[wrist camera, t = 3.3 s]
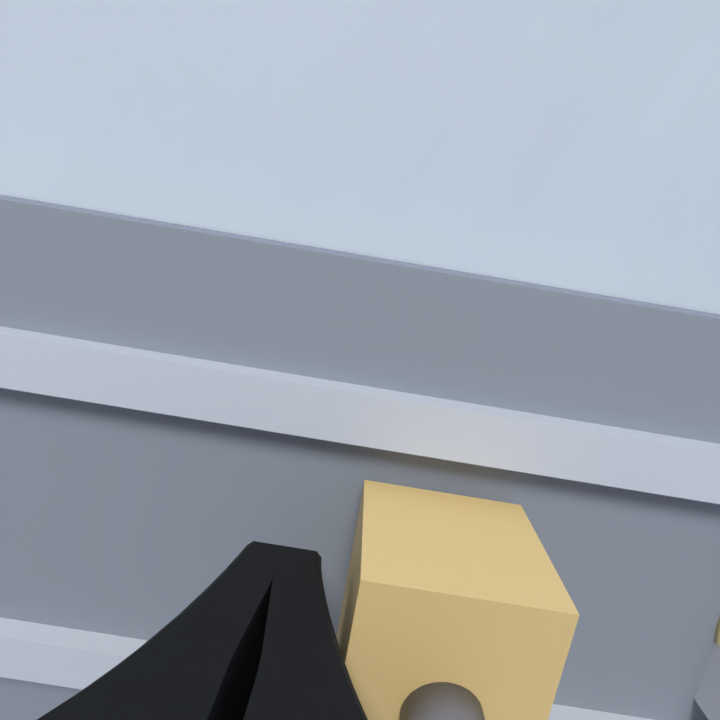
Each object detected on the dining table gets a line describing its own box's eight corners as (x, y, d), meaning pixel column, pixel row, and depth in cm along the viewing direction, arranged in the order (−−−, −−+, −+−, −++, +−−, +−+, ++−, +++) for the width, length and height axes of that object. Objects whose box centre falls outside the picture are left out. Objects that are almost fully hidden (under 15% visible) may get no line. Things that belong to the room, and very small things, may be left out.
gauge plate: (916, 347, 11) (1423, 457, 6) (730, 792, 14) (955, 1149, 9) (0, 194, 11) (-366, 161, 6) (-2, 680, 14) (-246, 972, 8)
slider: (520, 504, 10) (615, 680, 6) (476, 678, 11) (533, 927, 7) (364, 480, 10) (358, 640, 6) (332, 656, 11) (310, 893, 7)
